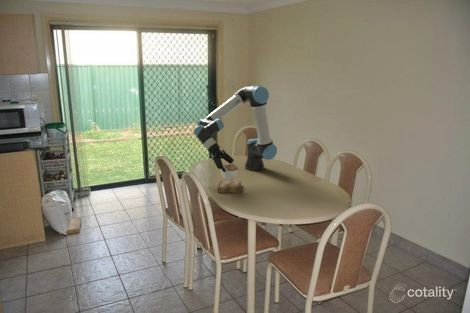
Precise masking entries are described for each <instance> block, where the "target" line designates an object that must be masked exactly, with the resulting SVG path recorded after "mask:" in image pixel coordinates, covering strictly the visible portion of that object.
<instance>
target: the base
mask: <svg viewBox="0 0 470 313" xmlns="http://www.w3.org/2000/svg"><path fill="white" fill-rule="evenodd" d="M241 190H242V181H241V180H237V181H236V180H219V183H218V186H217V193H224V192H228V193H230V194H232V193H234V194H240V193H241Z"/></svg>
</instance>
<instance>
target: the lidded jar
mask: <svg viewBox="0 0 470 313" xmlns="http://www.w3.org/2000/svg"><path fill="white" fill-rule="evenodd" d="M235 165H236V164H235ZM235 165H230V163H229V164H225V165H224V164H223V166H225V167H226V169H227V170H228V171H229V172H230V175H229V176H228V177H227V176H226V174H225V173H224V172H223V171H222V169H220V173H221V176H222V177H223V179H224V181H234V180H235V178H236V177H237V175H238V172H239V170H238V169H239V167H238V165H236V166H235Z"/></svg>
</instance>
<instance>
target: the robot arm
mask: <svg viewBox="0 0 470 313" xmlns="http://www.w3.org/2000/svg"><path fill="white" fill-rule="evenodd" d="M269 98H270V94H269V91H268V89H267V88H266V87H265V86H262V85H253V84H252V85H251V84H248V85H244V86H243V87H241V88H239V89H238V90H237V91H236V92H234V93H233V95H232V96H231V97H230V98H229V99H227V101H225V102H223V103H222V104H221V105H219V107H217V108H216V109H214V110H213V111H212V112H211V113H210V114H208V115H207V116H205V117H202V118H199V119H198V121H197V126H196V127H195V128H194V130H193V133H194V135H195V136H196V138H197V140H199V141H200V143H201V144H202V145H203V146H204V148H205V149H206V150H207V152H208V153H209V154H210V157H211V159H212V160H213V162H214V164H215V166H216V168H217V169H218V170H221V169H222V171H223V172H224V173H225V174H226V176H227V177H228V176H229V175H230V172H229V171H228V170H227V169H226V167H225V166H223V165H224V164H223V161H222V160H224V161H225V162H227V163H229V164H230V165H235V166H237V165H236V164H235V162H234V161H235V160H234V158H233V157H232V156H230V154H228V153H227V151H225V150H224V149H222V150H221V147H220V145H219V144H218V142H217V141H216V140H215V139H214V138H213V136H214V135H215V134H216V133H219V132H220V131H221V130H223V129H224V127H225V126H224V125H225V124H224V122H223V121H222V119H223V118H225V116H227V115H228V114H229V113H231V112H232V111H233V110H234V109H236V108H238V107H239V106H241V105H243V104H245V103H249V105H250V106H249V107H250V108H252V110H253V116H254V117H253V118H254V122H255V127H256V134H257V138H249V139H248V140H247V142H246V143H247V144H246V148H247V149H246V150H247V151H246V154H247V155H246V161H245V163H244V169H245V170H247V171H251V172H252V171H255V172H256V171H257V172H259V171H263V170H264V169H265V163H264V160H267V161H270V160H273V159H274V158H275V157H276V156H277V153H278V148H277V145H275V144H274V142H273V141H274V140H273V139H272V138H271V136H270V135H271V134H270V129H269V123H268V117H267V110H266V106H267V104H268V103H267V102H268V100H269ZM239 170H240V169H239V168H238V171H239Z"/></svg>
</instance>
